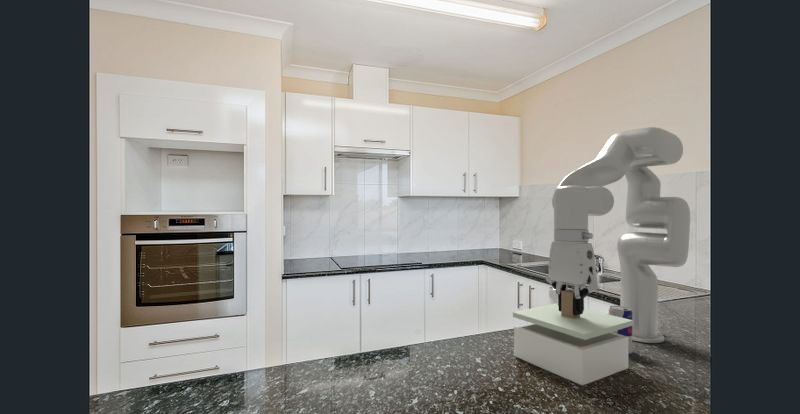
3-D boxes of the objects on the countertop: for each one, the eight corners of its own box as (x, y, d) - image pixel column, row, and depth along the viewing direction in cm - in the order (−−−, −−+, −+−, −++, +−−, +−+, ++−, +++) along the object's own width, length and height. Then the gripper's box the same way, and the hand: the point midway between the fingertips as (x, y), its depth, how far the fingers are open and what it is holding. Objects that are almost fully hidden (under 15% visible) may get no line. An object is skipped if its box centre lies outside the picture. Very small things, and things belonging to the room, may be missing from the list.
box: (558, 346, 100) (559, 317, 100) (628, 371, 84) (628, 336, 85) (513, 358, 90) (514, 326, 91) (582, 389, 75) (582, 350, 75)
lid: (560, 307, 101) (560, 281, 101) (632, 325, 85) (632, 294, 85) (512, 316, 91) (512, 288, 91) (585, 339, 75) (585, 304, 75)
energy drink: (635, 358, 92) (636, 311, 93) (612, 356, 93) (613, 309, 94) (627, 351, 98) (627, 306, 98) (605, 349, 99) (605, 304, 99)
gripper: (613, 238, 83) (613, 318, 83) (551, 234, 97) (551, 303, 97) (594, 239, 79) (594, 324, 79) (532, 235, 93) (532, 306, 93)
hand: (570, 311), depth 88 cm, fingers closed on lid, 3 cm apart
